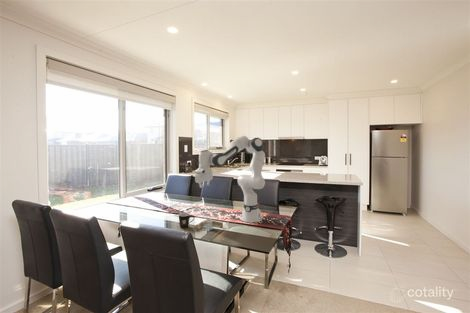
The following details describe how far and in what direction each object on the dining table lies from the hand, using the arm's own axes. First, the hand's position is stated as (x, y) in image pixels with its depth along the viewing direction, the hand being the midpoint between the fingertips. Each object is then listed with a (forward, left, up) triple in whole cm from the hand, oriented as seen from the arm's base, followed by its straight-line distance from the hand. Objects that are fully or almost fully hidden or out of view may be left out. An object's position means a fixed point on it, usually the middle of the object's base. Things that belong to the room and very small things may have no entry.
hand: (204, 186), depth 192 cm
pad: (+9, +9, -31) cm, 33 cm away
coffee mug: (+14, -8, -31) cm, 35 cm away
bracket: (+9, +9, -31) cm, 33 cm away
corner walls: (+8, +10, -31) cm, 34 cm away
